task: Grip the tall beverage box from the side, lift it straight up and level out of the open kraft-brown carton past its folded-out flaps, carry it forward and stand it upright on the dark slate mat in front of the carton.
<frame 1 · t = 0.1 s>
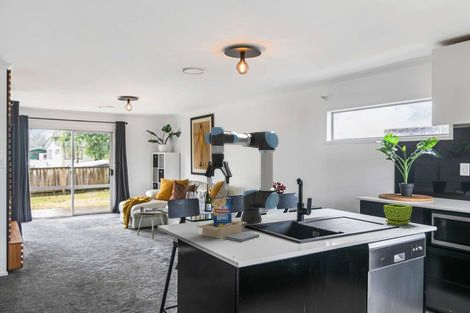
hand: (218, 188, 210), 28 cm above the counter, tool pointing down, fingers open, 13 cm apart
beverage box: (222, 234, 215), resting in carton
flower pot: (397, 223, 248), on the counter
mat: (242, 237, 205), on the counter
carton: (222, 234, 215), on the counter
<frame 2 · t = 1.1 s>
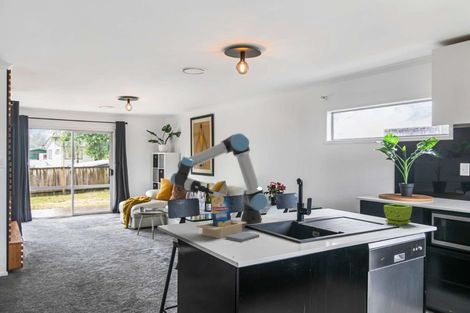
hand: (222, 196, 220), 22 cm above the counter, tool tilted 75°, fingers open, 13 cm apart
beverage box: (222, 233, 215), point 1 cm above the counter, touching gripper
everything else where it was.
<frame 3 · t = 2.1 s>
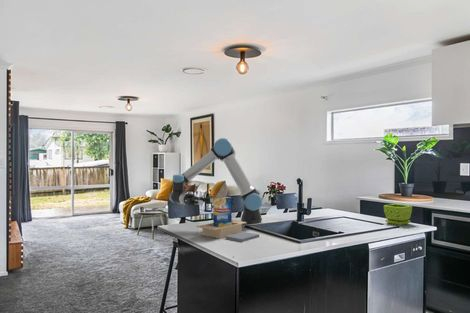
hand: (210, 202, 221), 19 cm above the counter, tool horizontal, fingers open, 13 cm apart
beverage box: (222, 234, 215), resting in carton
everything else where it was.
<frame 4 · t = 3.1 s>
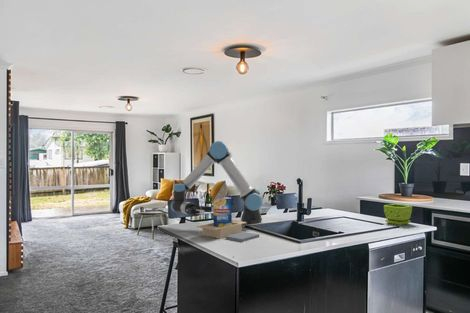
hand: (211, 211, 221), 13 cm above the counter, tool horizontal, fingers open, 13 cm apart
nothing on the counter moved.
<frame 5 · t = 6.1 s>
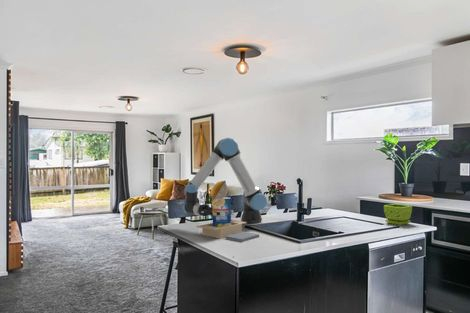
hand: (228, 213, 212), 13 cm above the counter, tool horizontal, fingers closed on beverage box, 7 cm apart
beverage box: (222, 234, 215), resting in carton, touching gripper
everything else where it was.
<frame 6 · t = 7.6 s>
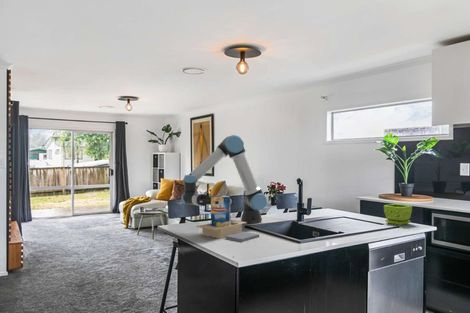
hand: (227, 202, 212), 20 cm above the counter, tool horizontal, fingers closed on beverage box, 7 cm apart
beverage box: (221, 232, 214), point 1 cm above the counter, touching gripper
everything else where it was.
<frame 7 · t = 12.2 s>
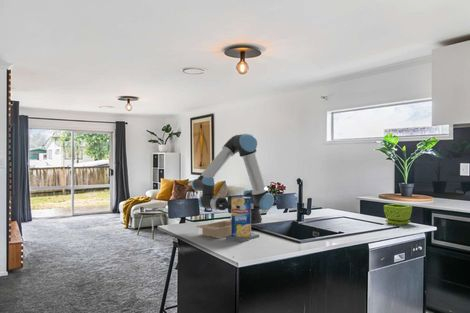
hand: (248, 207, 201), 18 cm above the counter, tool horizontal, fingers open, 7 cm apart
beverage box: (241, 236, 203), point 1 cm above the counter, touching gripper, mat
everything else where it was.
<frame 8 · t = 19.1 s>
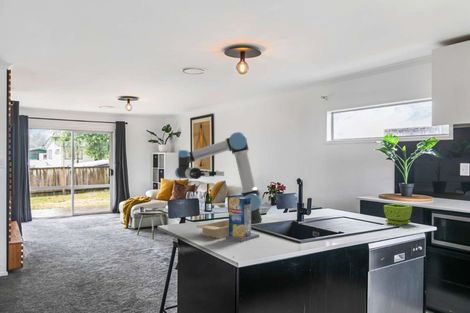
hand: (216, 174, 224), 36 cm above the counter, tool horizontal, fingers open, 13 cm apart
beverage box: (240, 235, 204), point 1 cm above the counter, touching mat
everything else where it was.
at the end: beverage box inside the target area on the mat (1.7 cm from its centre), point 1.3 cm above the mat's base; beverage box tilted 0°; the gripper is holding nothing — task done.
